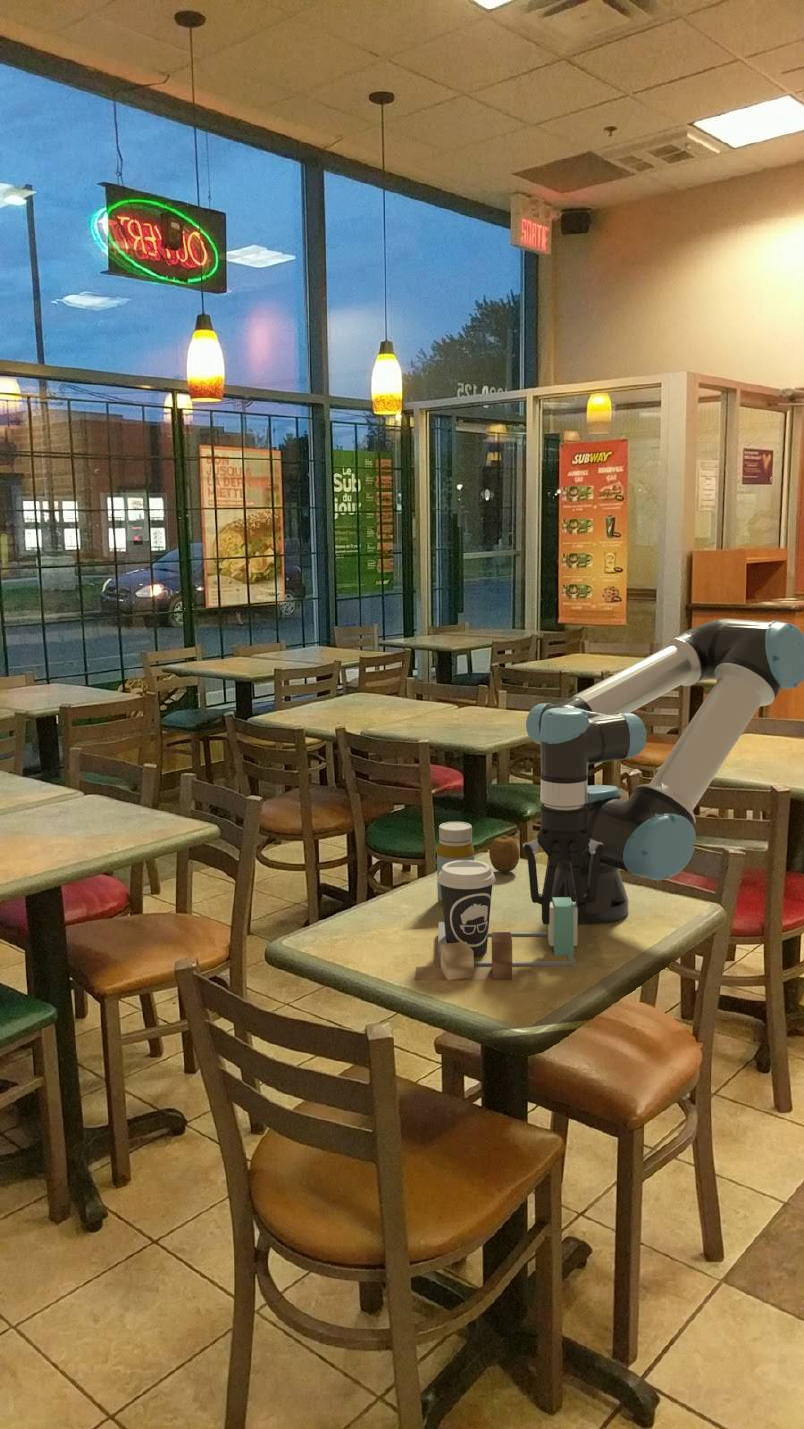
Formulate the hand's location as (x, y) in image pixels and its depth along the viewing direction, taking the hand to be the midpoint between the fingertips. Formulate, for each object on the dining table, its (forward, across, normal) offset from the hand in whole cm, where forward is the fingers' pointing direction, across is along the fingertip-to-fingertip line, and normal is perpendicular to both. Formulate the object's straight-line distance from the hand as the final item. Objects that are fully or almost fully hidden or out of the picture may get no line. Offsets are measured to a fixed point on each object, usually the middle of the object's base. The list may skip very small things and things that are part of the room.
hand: (562, 942), depth 174 cm
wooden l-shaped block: (+2, +16, +10) cm, 19 cm away
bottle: (+2, +18, -25) cm, 31 cm away
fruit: (+2, +8, -43) cm, 44 cm away
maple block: (+1, +17, +10) cm, 20 cm away
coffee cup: (+2, +16, 0) cm, 16 cm away
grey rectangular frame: (+2, +10, 0) cm, 10 cm away
